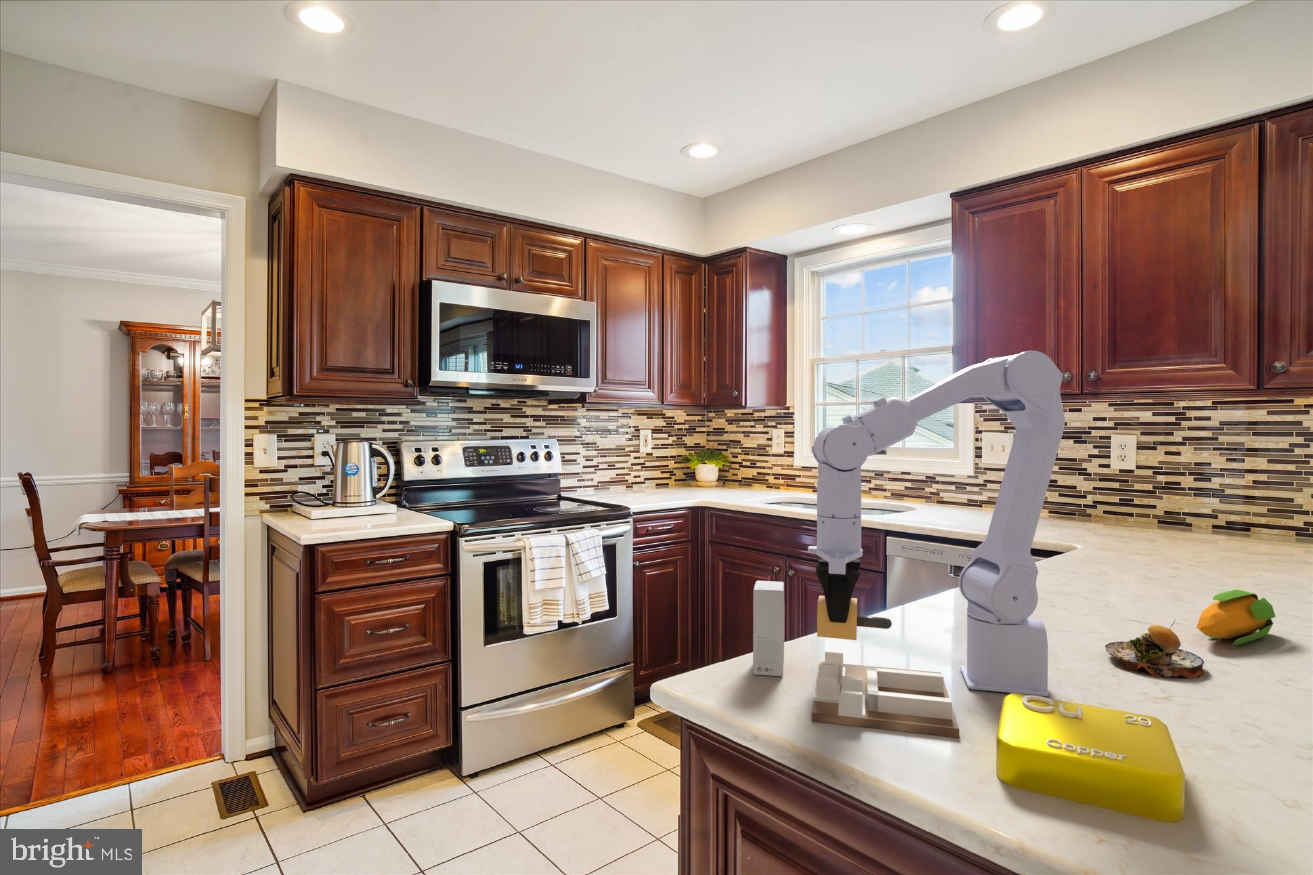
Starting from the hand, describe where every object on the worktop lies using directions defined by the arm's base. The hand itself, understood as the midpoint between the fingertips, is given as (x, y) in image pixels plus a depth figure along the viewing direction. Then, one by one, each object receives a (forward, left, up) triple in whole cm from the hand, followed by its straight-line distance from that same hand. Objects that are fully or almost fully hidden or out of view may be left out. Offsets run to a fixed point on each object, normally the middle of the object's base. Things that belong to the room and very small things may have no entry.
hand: (838, 617), depth 92 cm
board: (-5, +4, -9) cm, 11 cm away
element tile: (-24, +16, -10) cm, 31 cm away
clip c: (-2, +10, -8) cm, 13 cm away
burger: (-43, -20, -10) cm, 49 cm away
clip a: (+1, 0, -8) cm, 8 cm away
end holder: (-9, +6, -8) cm, 13 cm away
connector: (-2, 0, -2) cm, 3 cm away
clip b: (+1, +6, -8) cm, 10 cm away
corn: (-60, -37, -9) cm, 71 cm away
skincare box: (+10, -3, -9) cm, 14 cm away
